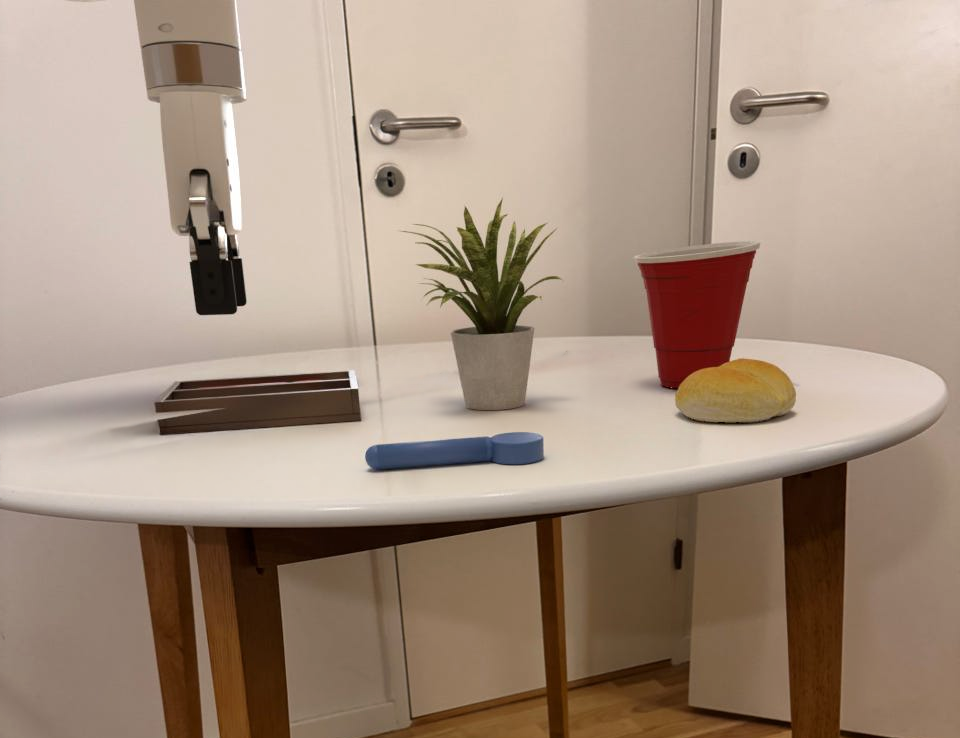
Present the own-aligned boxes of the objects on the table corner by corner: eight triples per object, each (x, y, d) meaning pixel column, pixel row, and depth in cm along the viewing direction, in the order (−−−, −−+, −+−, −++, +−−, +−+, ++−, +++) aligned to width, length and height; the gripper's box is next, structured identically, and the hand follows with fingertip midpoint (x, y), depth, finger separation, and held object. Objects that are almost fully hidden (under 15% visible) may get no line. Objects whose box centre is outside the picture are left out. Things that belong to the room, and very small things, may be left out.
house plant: (412, 392, 89) (398, 203, 82) (556, 385, 89) (555, 196, 82) (407, 422, 76) (390, 200, 69) (576, 413, 76) (576, 191, 69)
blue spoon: (367, 476, 60) (364, 451, 59) (365, 463, 63) (362, 440, 62) (548, 462, 61) (548, 438, 61) (537, 450, 64) (537, 427, 64)
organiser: (159, 435, 75) (153, 402, 74) (179, 410, 85) (174, 381, 84) (361, 420, 77) (358, 388, 76) (357, 398, 87) (354, 369, 86)
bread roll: (655, 416, 73) (656, 364, 72) (727, 400, 78) (730, 351, 77) (741, 430, 67) (745, 373, 66) (813, 412, 72) (819, 358, 71)
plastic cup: (615, 380, 90) (617, 246, 85) (720, 372, 92) (728, 240, 87) (654, 399, 81) (658, 248, 76) (771, 389, 82) (783, 241, 77)
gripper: (163, 94, 80) (191, 305, 87) (123, 59, 65) (161, 319, 71) (252, 94, 81) (273, 302, 88) (234, 60, 66) (261, 316, 72)
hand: (223, 310), depth 80 cm, fingers open, 9 cm apart
